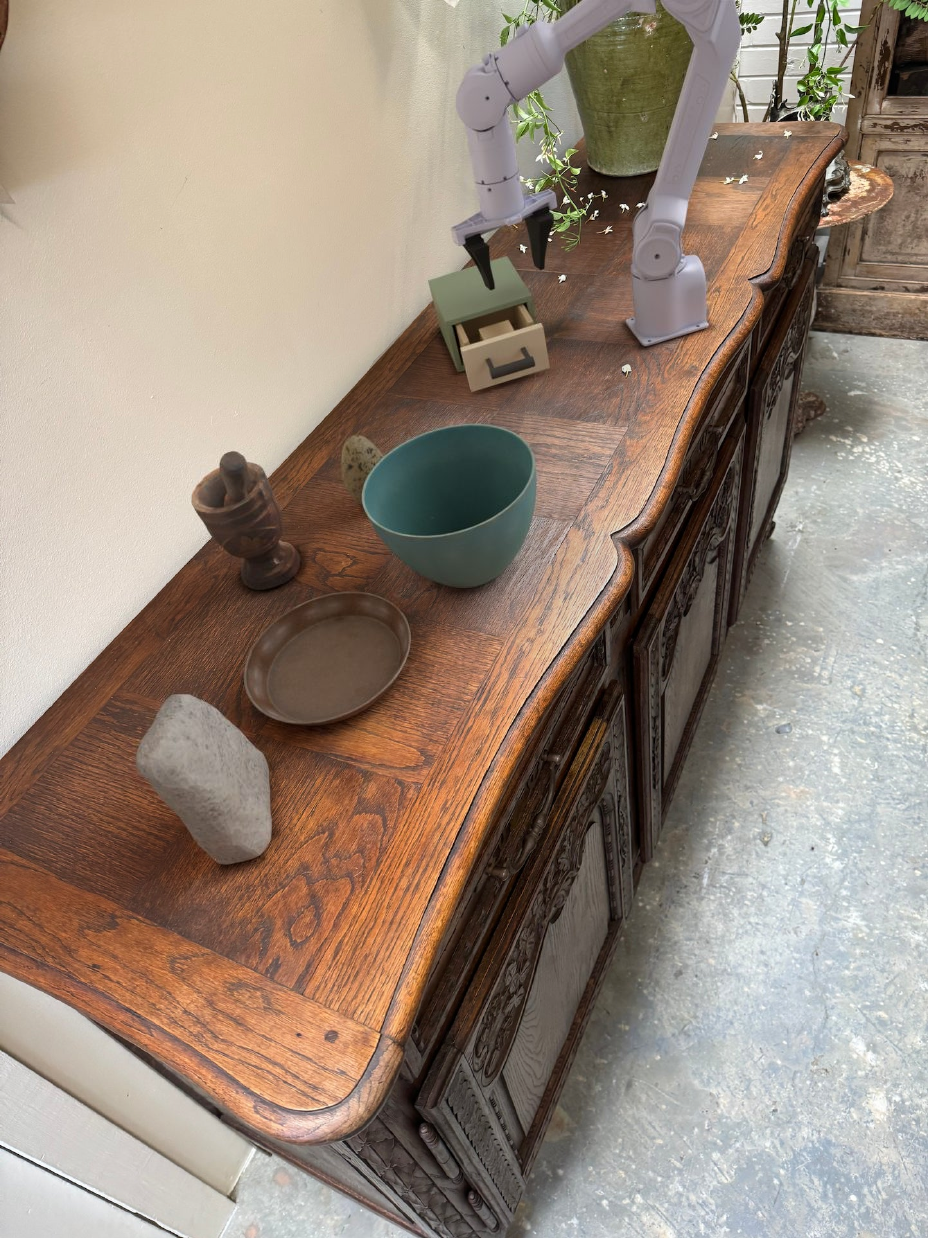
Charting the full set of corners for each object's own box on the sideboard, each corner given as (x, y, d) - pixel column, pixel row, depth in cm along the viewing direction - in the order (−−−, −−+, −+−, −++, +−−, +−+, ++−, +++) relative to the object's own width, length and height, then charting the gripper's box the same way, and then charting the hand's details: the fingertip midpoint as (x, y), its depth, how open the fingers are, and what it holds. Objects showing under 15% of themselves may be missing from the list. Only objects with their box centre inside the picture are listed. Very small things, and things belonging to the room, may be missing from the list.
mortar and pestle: (339, 559, 100) (277, 418, 85) (297, 609, 95) (224, 469, 81) (268, 540, 105) (198, 405, 91) (224, 587, 101) (144, 453, 86)
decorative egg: (349, 498, 107) (323, 434, 100) (392, 481, 108) (369, 416, 101) (361, 524, 103) (334, 459, 96) (405, 506, 104) (382, 440, 97)
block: (513, 347, 120) (508, 319, 117) (521, 362, 117) (516, 333, 114) (484, 356, 120) (478, 328, 117) (491, 371, 117) (485, 343, 114)
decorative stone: (223, 768, 82) (148, 673, 71) (281, 756, 81) (215, 658, 71) (208, 871, 74) (123, 781, 64) (272, 858, 74) (197, 766, 63)
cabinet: (540, 347, 123) (531, 294, 117) (458, 372, 123) (445, 321, 117) (516, 305, 133) (506, 255, 127) (440, 328, 133) (427, 280, 127)
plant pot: (407, 642, 88) (373, 558, 79) (383, 536, 101) (352, 453, 92) (572, 591, 88) (556, 501, 79) (527, 491, 101) (510, 404, 92)
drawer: (558, 383, 113) (552, 341, 109) (478, 408, 113) (468, 367, 109) (525, 325, 126) (518, 285, 122) (453, 348, 126) (443, 309, 122)
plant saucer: (321, 592, 96) (311, 574, 94) (448, 631, 88) (442, 612, 85) (221, 709, 87) (209, 691, 85) (353, 765, 79) (343, 747, 76)
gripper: (456, 203, 103) (478, 306, 113) (561, 162, 105) (574, 267, 115) (436, 188, 108) (459, 288, 118) (537, 149, 110) (551, 251, 119)
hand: (514, 277), depth 117 cm, fingers open, 7 cm apart
